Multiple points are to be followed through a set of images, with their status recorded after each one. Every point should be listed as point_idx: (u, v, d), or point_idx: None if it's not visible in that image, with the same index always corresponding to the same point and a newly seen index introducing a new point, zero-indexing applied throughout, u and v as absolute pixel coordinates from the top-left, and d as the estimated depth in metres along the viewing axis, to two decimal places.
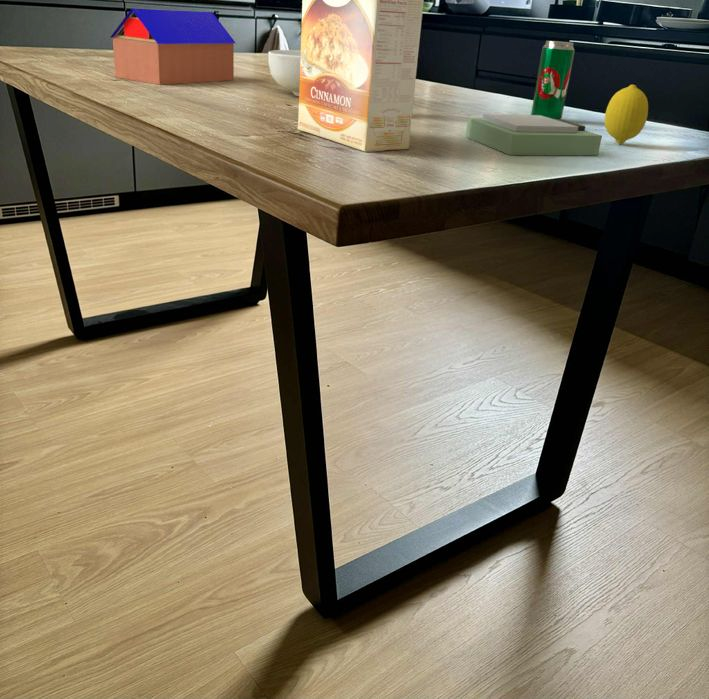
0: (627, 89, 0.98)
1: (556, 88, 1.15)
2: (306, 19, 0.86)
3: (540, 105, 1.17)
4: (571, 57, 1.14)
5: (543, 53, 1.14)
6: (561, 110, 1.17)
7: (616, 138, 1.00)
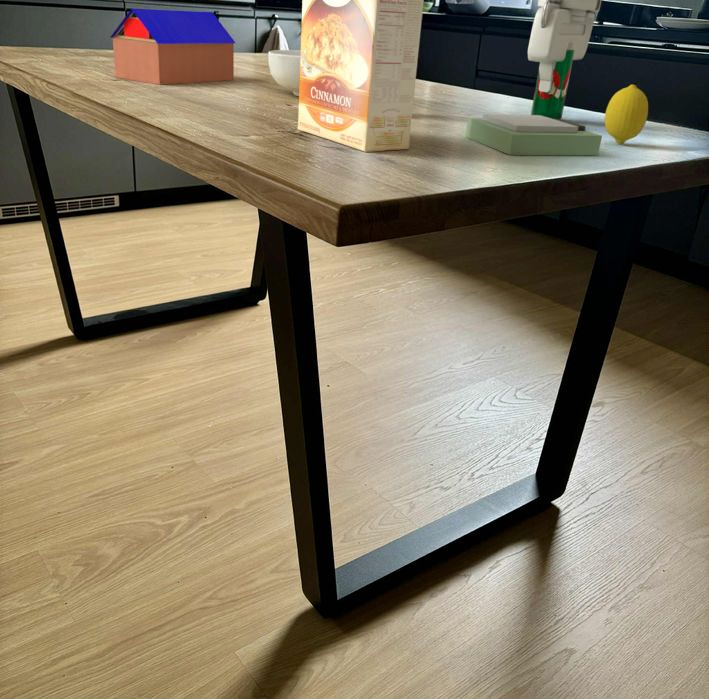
0: (627, 89, 0.98)
1: (556, 88, 1.15)
2: (306, 19, 0.86)
3: (540, 105, 1.17)
4: (571, 57, 1.14)
5: None
6: (561, 110, 1.17)
7: (616, 138, 1.00)
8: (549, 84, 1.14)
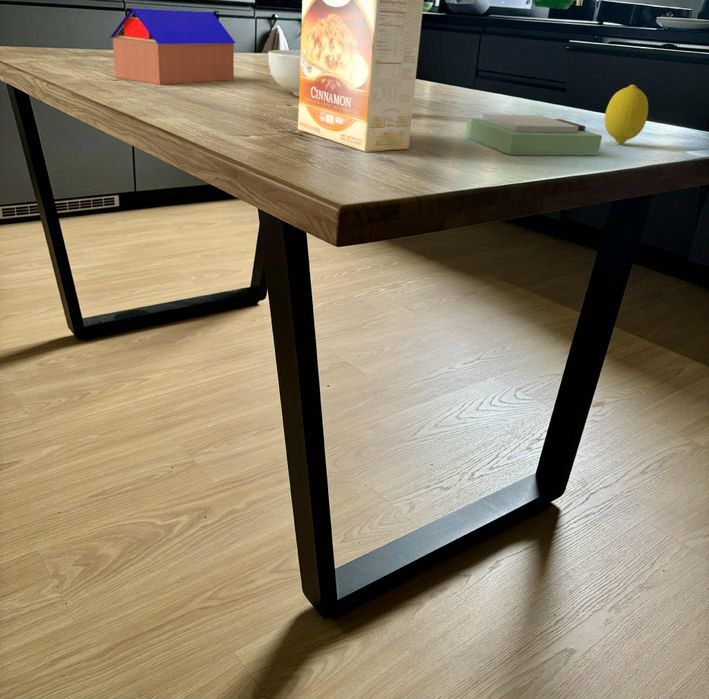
0: (627, 89, 0.98)
1: None
2: (306, 19, 0.86)
3: None
4: None
5: None
6: None
7: (616, 138, 1.00)
8: None
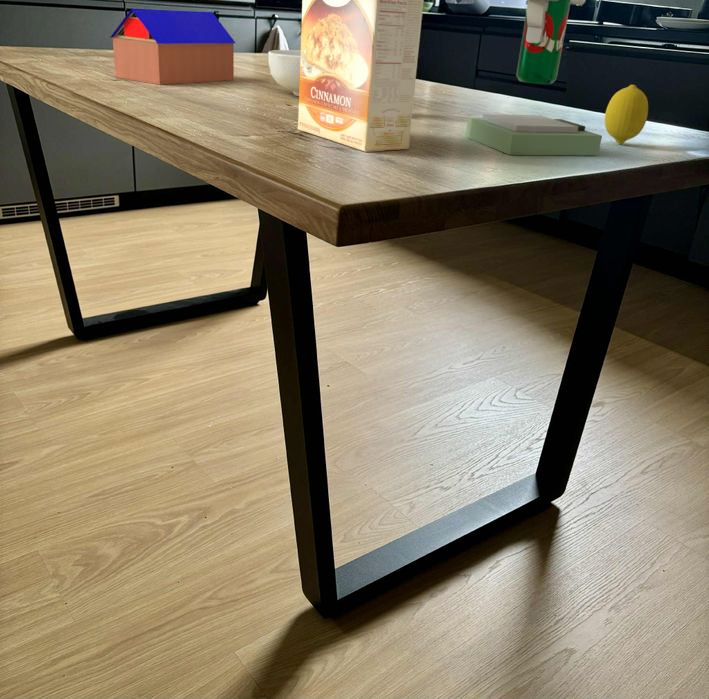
0: (627, 89, 0.98)
1: (549, 38, 0.87)
2: (306, 19, 0.86)
3: (528, 62, 0.88)
4: None
5: None
6: (555, 68, 0.89)
7: (616, 138, 1.00)
8: (540, 32, 0.85)
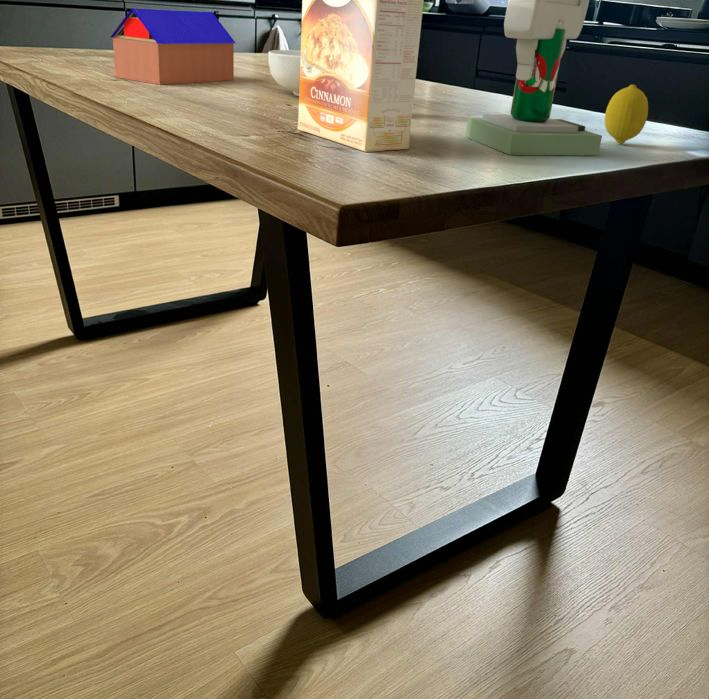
0: (627, 89, 0.98)
1: (542, 79, 0.89)
2: (306, 19, 0.86)
3: (522, 101, 0.90)
4: (561, 38, 0.87)
5: None
6: (549, 108, 0.91)
7: (616, 138, 1.00)
8: (529, 70, 0.86)
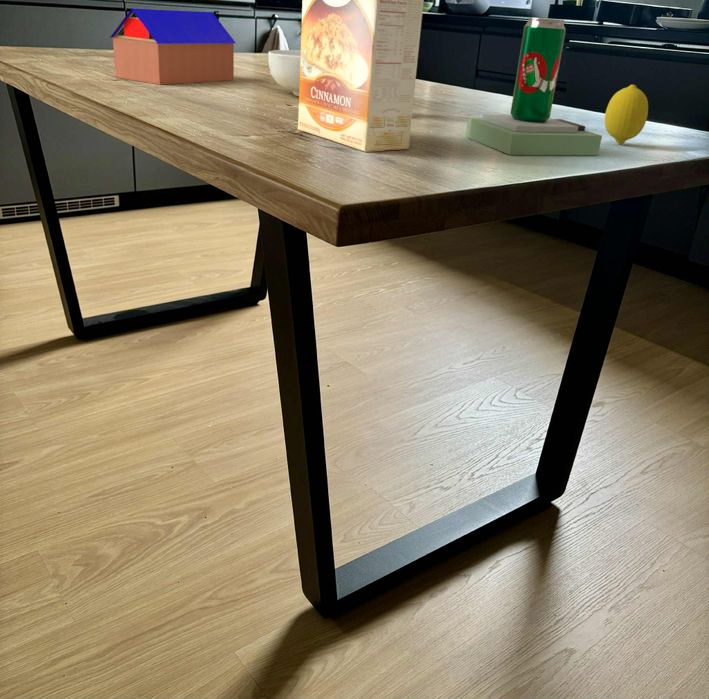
0: (627, 89, 0.98)
1: (542, 79, 0.89)
2: (306, 19, 0.86)
3: (522, 101, 0.90)
4: (561, 38, 0.87)
5: (525, 33, 0.88)
6: (549, 108, 0.91)
7: (616, 138, 1.00)
8: None
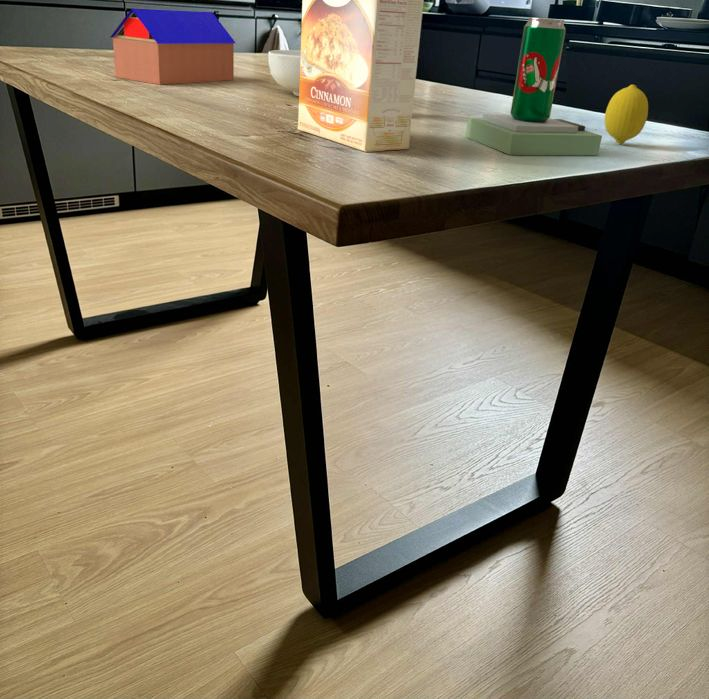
0: (627, 89, 0.98)
1: (542, 79, 0.89)
2: (306, 19, 0.86)
3: (522, 101, 0.90)
4: (561, 38, 0.87)
5: (525, 33, 0.88)
6: (549, 107, 0.91)
7: (616, 138, 1.00)
8: None
